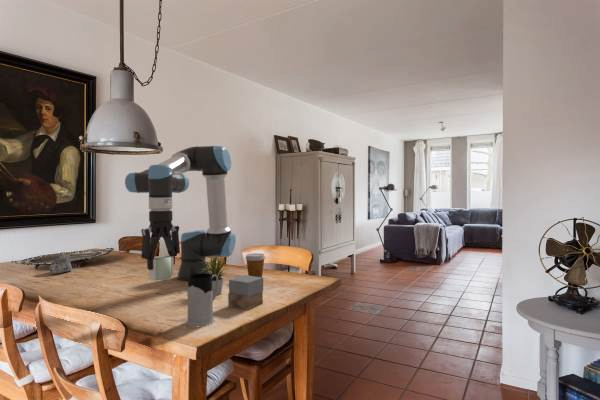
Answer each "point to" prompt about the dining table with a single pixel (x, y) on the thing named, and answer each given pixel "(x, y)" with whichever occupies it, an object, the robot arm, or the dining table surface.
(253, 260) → the disposable coffee cup
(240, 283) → the charcoal top block
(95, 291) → the dining table surface
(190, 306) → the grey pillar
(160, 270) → the pale green rounded cylinder
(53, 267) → the mineral rock
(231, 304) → the walnut base block
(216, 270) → the house plant
